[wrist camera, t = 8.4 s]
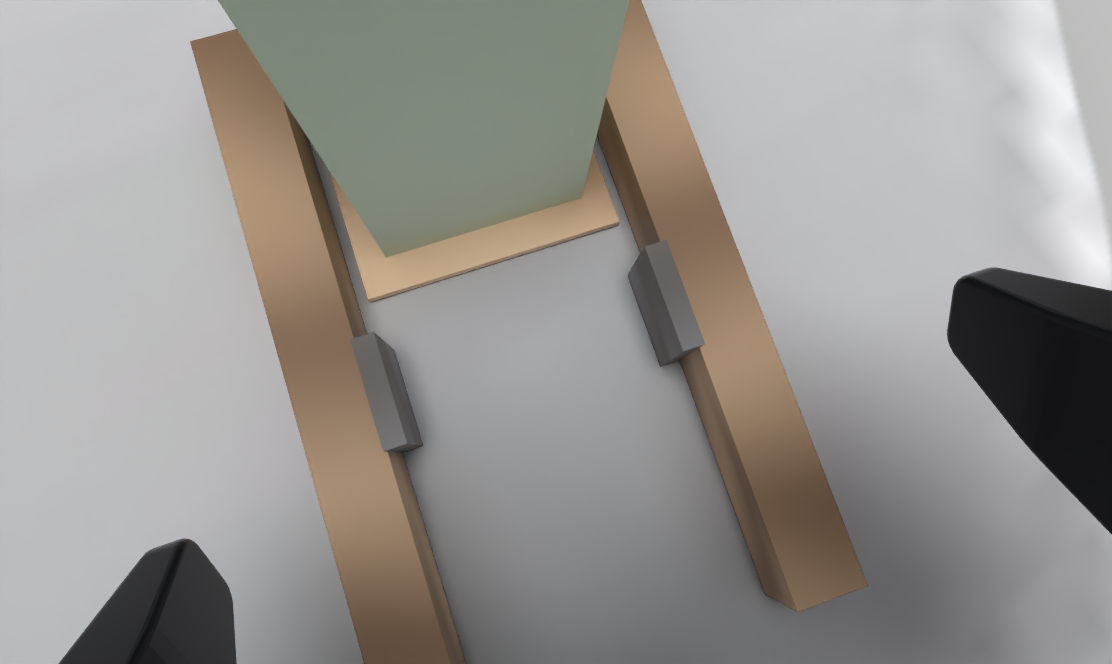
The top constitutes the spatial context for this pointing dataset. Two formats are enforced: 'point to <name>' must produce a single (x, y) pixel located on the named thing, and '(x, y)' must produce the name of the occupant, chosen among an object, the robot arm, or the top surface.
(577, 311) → the top surface
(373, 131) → the sage block
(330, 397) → the wooden leg stand
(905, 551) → the top surface
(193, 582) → the robot arm
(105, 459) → the top surface
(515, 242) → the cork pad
